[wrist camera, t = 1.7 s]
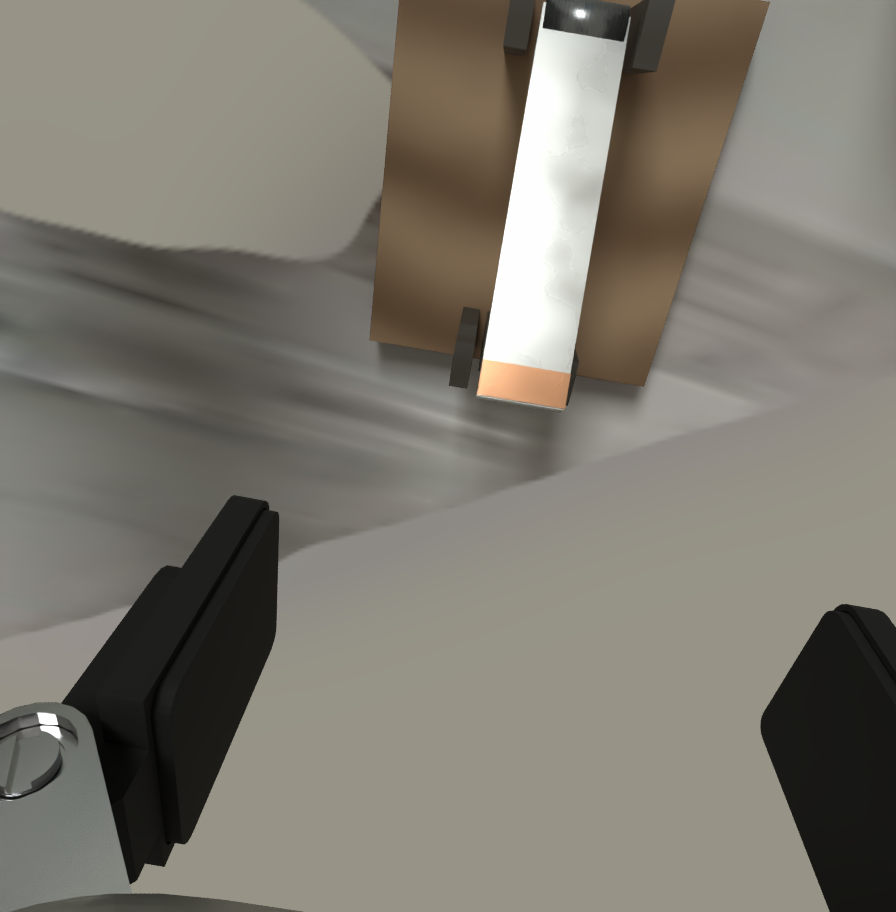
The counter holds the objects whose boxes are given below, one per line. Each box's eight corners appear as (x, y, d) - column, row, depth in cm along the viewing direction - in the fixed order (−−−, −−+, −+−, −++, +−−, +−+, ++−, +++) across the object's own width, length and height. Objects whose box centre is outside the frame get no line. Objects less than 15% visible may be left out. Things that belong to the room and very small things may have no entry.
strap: (540, 12, 23) (547, -21, 21) (623, 26, 23) (636, -6, 21) (475, 399, 23) (477, 394, 21) (557, 413, 23) (565, 409, 21)
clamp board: (411, -50, 26) (381, -92, 20) (752, 7, 26) (826, -17, 20) (376, 327, 34) (347, 379, 28) (637, 371, 34) (664, 432, 28)
